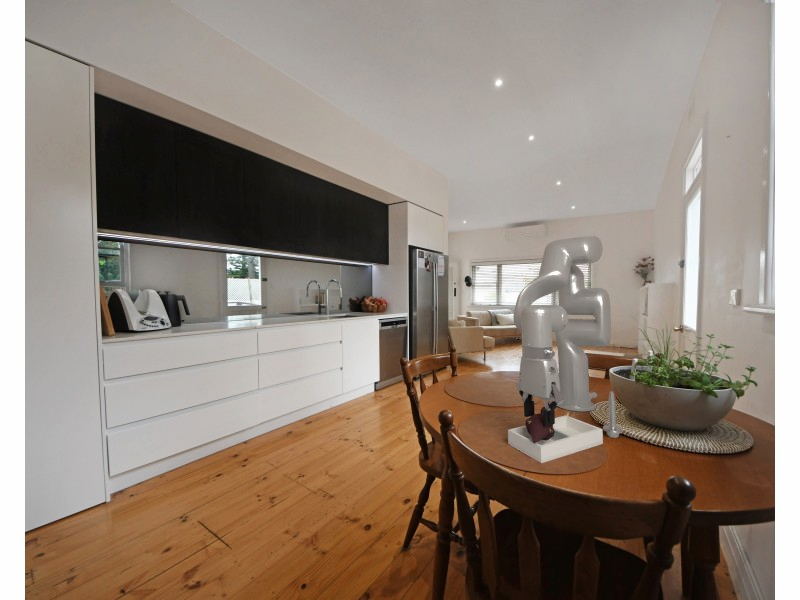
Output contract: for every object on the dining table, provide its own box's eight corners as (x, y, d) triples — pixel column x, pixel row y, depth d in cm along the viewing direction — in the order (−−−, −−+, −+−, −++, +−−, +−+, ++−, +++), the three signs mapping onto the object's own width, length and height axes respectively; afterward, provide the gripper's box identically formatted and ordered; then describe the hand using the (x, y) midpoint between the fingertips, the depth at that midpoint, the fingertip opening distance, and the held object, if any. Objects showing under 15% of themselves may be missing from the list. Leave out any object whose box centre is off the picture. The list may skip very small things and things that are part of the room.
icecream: (553, 436, 77) (561, 408, 90) (521, 423, 81) (533, 398, 93) (546, 460, 79) (555, 430, 91) (516, 447, 83) (528, 419, 95)
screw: (615, 432, 95) (627, 439, 90) (599, 432, 95) (610, 440, 90) (614, 388, 95) (625, 393, 90) (597, 388, 95) (608, 393, 90)
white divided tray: (566, 428, 99) (565, 415, 99) (602, 443, 88) (602, 429, 88) (508, 444, 90) (507, 429, 90) (541, 463, 79) (540, 447, 79)
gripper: (575, 356, 80) (578, 429, 80) (523, 347, 96) (525, 408, 96) (553, 359, 77) (555, 435, 77) (503, 349, 93) (505, 412, 93)
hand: (539, 419), depth 86 cm, fingers closed on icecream, 6 cm apart
